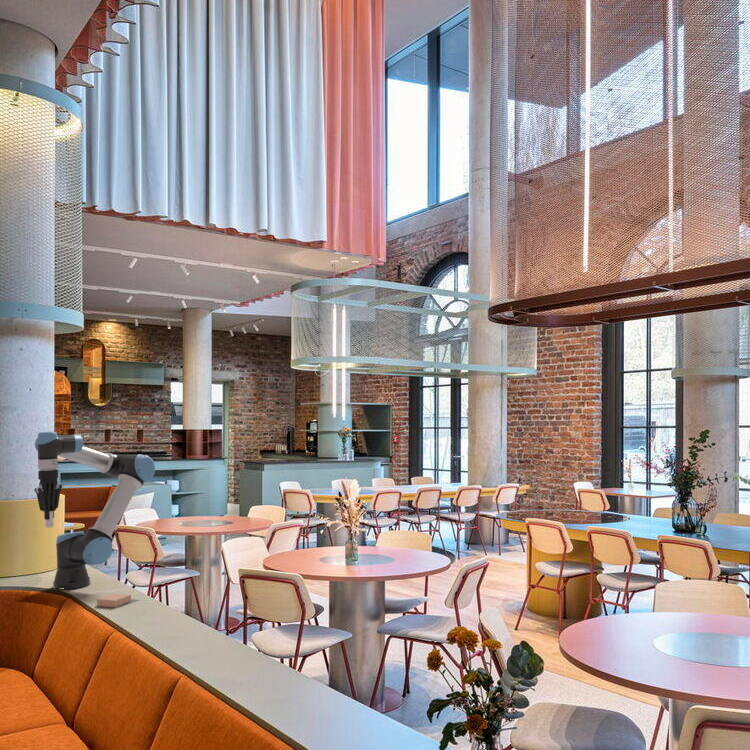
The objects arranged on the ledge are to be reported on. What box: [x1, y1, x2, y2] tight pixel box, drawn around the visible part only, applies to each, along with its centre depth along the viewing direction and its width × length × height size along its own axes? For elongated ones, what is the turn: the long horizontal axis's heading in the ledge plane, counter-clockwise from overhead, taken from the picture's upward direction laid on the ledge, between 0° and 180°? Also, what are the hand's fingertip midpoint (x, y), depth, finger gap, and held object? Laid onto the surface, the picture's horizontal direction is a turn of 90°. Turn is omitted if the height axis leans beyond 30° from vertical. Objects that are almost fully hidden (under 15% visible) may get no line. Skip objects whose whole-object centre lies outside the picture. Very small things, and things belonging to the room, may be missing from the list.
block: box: [96, 593, 132, 609], centre depth 310 cm, size 3×9×9 cm
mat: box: [94, 598, 140, 609], centre depth 312 cm, size 12×12×1 cm
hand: (49, 527), depth 324 cm, fingers closed
